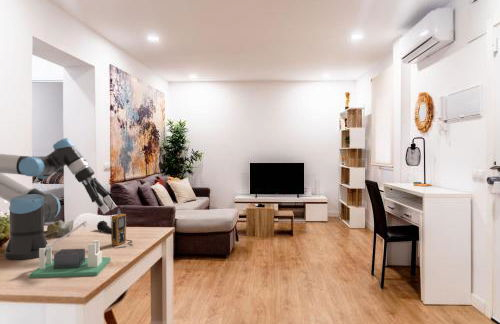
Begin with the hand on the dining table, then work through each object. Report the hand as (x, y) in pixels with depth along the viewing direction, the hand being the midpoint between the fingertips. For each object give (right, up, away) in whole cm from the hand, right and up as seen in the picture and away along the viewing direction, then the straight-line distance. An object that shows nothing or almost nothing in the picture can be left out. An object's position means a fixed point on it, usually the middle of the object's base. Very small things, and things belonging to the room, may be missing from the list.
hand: (110, 210), depth 166 cm
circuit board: (-1, -16, -34) cm, 37 cm away
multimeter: (+6, -16, +2) cm, 17 cm away
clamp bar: (-3, -6, -34) cm, 35 cm away
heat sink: (-2, -15, -34) cm, 37 cm away
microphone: (-13, -15, +28) cm, 34 cm away
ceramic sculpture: (-33, -15, +18) cm, 40 cm away
